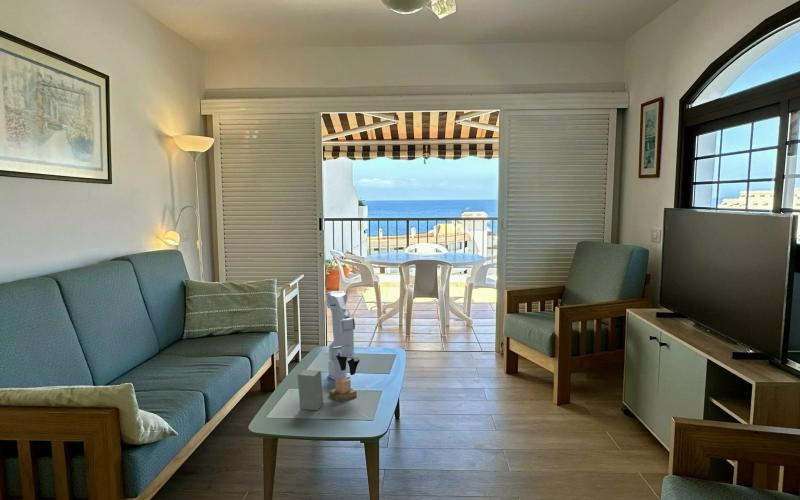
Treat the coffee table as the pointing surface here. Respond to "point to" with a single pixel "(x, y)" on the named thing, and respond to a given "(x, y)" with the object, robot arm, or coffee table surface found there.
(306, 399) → the skincare box
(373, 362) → the coffee table surface
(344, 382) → the cube
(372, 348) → the coffee table surface
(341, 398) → the tan flat block
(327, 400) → the coffee table surface
